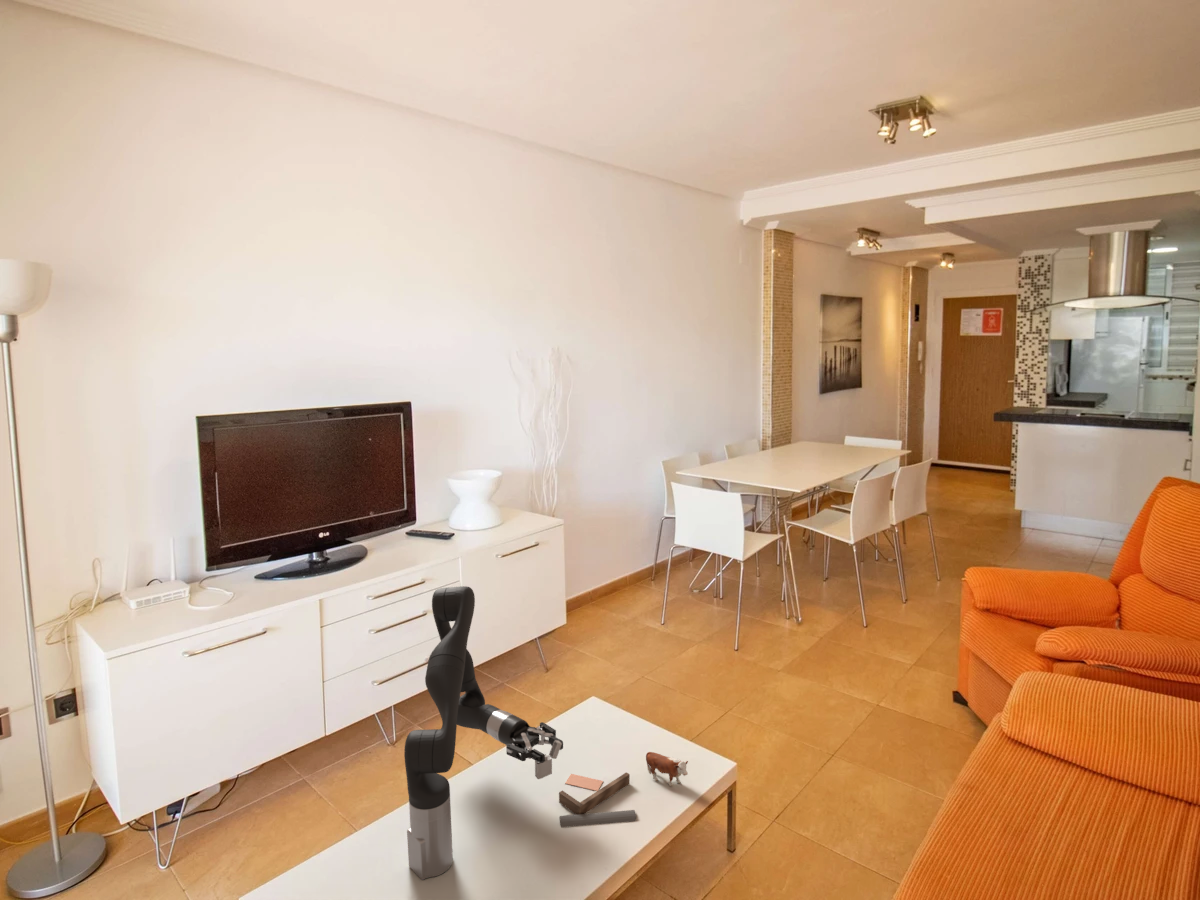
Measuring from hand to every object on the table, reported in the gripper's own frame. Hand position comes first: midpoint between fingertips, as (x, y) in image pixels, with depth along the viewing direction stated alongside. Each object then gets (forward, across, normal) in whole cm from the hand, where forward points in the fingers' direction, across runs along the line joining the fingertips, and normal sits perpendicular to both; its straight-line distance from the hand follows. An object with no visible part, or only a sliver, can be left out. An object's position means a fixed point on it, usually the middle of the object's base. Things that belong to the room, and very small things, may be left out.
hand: (553, 752), depth 176 cm
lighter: (-1, 0, +6) cm, 6 cm away
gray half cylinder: (+11, +5, +18) cm, 21 cm away
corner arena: (+4, +12, +17) cm, 22 cm away
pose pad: (-1, +14, +17) cm, 22 cm away
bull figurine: (+17, +29, +17) cm, 37 cm away
